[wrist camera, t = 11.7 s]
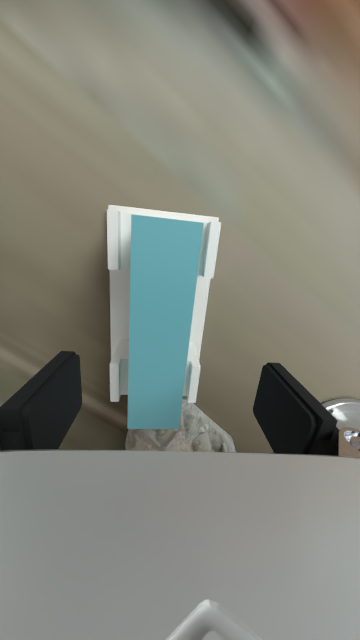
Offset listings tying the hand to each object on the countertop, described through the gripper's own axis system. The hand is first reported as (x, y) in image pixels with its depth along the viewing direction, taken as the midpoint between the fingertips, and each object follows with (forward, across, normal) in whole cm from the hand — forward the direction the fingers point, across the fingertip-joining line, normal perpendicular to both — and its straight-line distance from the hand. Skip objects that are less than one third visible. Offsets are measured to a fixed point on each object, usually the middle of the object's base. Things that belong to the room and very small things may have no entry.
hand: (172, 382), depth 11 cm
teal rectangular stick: (+8, +1, -1) cm, 8 cm away
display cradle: (+13, +1, -1) cm, 13 cm away
